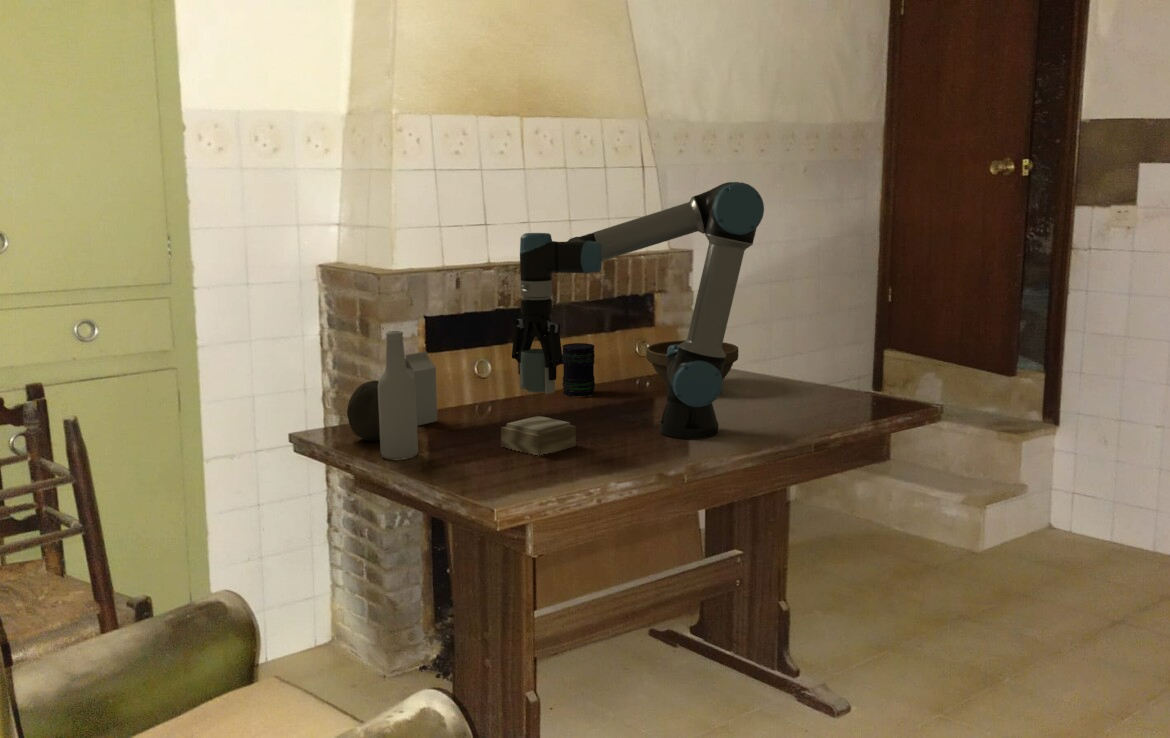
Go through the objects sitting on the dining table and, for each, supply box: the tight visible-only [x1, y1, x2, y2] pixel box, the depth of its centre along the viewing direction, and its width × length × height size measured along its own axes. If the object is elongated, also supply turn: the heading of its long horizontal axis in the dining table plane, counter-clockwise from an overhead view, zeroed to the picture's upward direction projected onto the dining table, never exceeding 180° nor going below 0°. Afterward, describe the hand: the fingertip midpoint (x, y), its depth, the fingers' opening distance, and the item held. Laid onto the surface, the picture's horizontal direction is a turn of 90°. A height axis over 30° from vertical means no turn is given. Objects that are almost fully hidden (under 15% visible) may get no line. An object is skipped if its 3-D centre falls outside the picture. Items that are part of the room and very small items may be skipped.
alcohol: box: [378, 330, 419, 459], centre depth 249 cm, size 9×9×30 cm
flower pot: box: [645, 340, 739, 385], centre depth 326 cm, size 28×28×13 cm
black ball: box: [346, 380, 380, 442], centre depth 266 cm, size 14×14×15 cm
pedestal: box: [500, 415, 577, 457], centre depth 259 cm, size 13×13×6 cm
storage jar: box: [561, 342, 596, 397], centre depth 319 cm, size 10×10×15 cm
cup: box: [521, 348, 552, 394], centre depth 256 cm, size 8×8×10 cm
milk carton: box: [405, 351, 438, 427], centre depth 284 cm, size 7×7×19 cm
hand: (537, 390), depth 257 cm, fingers closed on cup, 8 cm apart
